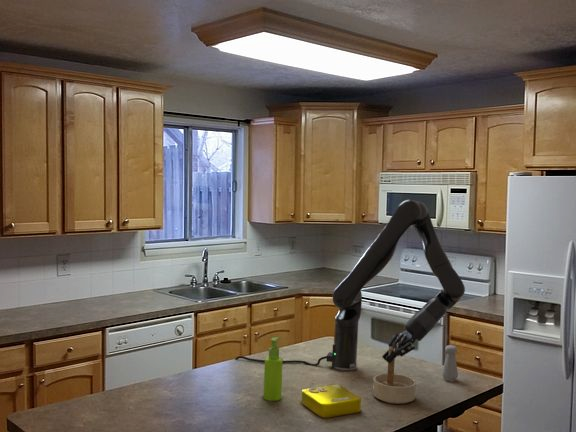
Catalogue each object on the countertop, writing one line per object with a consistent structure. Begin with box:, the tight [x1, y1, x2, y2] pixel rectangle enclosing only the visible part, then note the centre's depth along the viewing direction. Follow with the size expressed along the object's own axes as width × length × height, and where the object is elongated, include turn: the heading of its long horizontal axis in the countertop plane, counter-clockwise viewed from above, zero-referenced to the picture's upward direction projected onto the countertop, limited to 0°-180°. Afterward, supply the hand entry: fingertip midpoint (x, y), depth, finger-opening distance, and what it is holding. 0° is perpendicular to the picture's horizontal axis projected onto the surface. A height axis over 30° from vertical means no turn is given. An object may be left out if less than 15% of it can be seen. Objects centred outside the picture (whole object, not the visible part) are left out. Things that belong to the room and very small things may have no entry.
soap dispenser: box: [263, 336, 284, 402], centre depth 196 cm, size 6×7×20 cm
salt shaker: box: [441, 344, 459, 383], centre depth 220 cm, size 6×6×13 cm
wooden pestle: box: [384, 346, 397, 387], centre depth 200 cm, size 4×4×15 cm
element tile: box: [301, 383, 362, 419], centre depth 189 cm, size 15×15×5 cm
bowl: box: [372, 372, 417, 405], centre depth 200 cm, size 14×14×6 cm
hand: (385, 360), depth 199 cm, fingers closed on wooden pestle, 2 cm apart
